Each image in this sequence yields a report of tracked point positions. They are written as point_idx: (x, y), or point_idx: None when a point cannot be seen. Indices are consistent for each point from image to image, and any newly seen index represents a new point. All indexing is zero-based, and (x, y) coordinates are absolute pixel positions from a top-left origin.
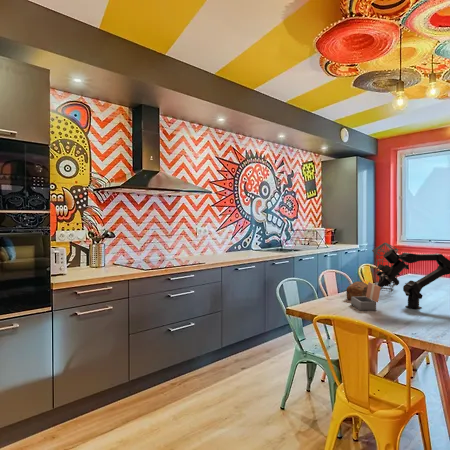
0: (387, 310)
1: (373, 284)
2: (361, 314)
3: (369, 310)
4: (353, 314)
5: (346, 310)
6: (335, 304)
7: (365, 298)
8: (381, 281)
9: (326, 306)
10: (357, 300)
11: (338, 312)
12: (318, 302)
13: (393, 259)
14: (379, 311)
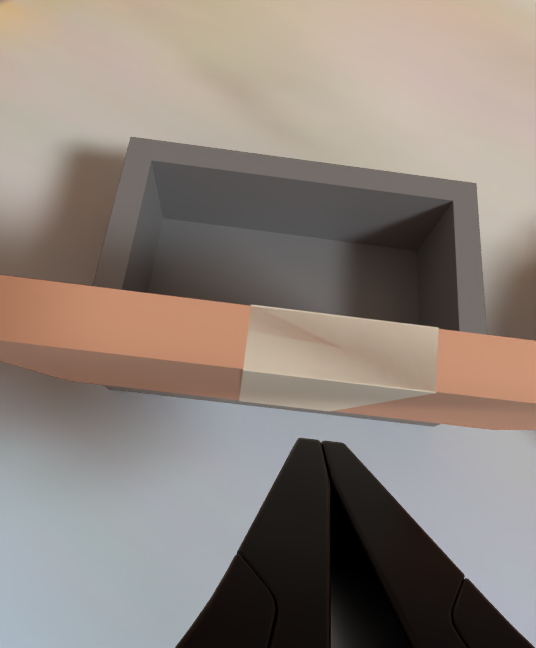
0: (95, 578)
1: (352, 319)
2: (16, 154)
3: None
4: (40, 88)
5: (195, 96)
6: (438, 105)
7: None
8: (249, 629)
9: (360, 8)
10: (240, 152)
11: (141, 9)
12: (510, 8)
13: None
14: (75, 421)
